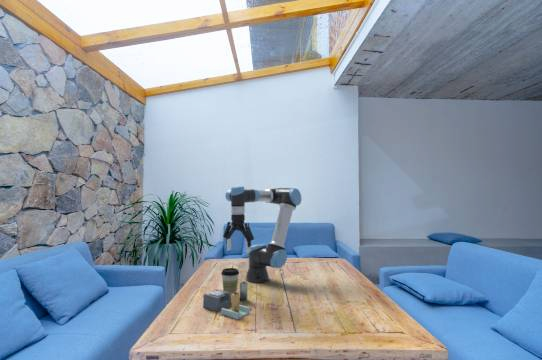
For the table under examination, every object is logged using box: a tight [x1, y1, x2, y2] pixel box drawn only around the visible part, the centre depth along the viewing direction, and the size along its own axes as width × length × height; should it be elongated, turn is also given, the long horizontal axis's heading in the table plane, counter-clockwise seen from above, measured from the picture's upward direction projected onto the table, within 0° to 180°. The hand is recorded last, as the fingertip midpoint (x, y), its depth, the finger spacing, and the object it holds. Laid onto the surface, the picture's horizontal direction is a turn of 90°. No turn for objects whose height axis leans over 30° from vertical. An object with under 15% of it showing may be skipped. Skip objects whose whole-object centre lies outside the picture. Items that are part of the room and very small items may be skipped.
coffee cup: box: [221, 267, 240, 293], centre depth 174 cm, size 10×10×15 cm
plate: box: [208, 289, 226, 298], centre depth 160 cm, size 6×6×2 cm
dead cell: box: [239, 281, 248, 302], centre depth 170 cm, size 4×4×10 cm
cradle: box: [202, 288, 231, 313], centre depth 160 cm, size 10×10×6 cm
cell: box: [230, 291, 240, 313], centre depth 150 cm, size 4×4×10 cm
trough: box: [220, 304, 251, 320], centre depth 151 cm, size 9×10×3 cm
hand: (238, 251), depth 176 cm, fingers open, 13 cm apart
